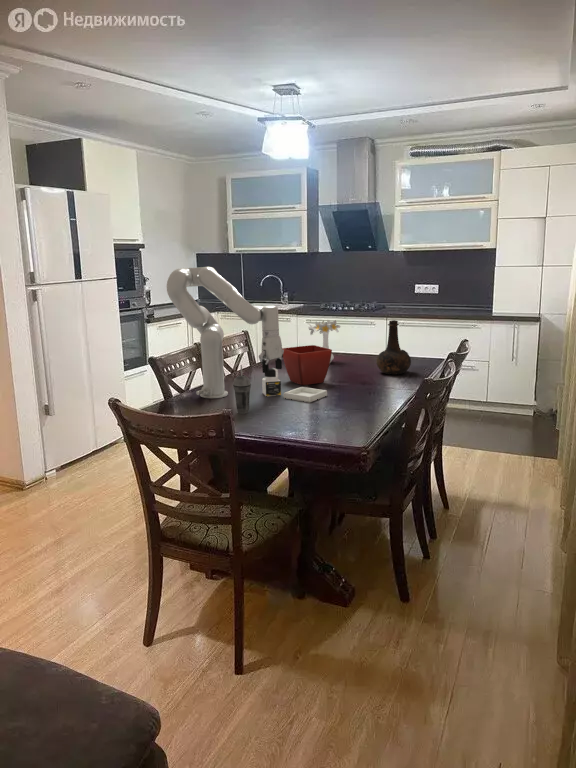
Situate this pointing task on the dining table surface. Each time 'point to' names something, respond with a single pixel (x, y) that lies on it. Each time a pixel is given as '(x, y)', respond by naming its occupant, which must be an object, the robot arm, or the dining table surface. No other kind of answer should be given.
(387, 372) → the glass bottle
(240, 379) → the beverage cup
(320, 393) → the tray
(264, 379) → the medicine bottle
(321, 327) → the flower vase
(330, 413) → the dining table surface
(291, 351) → the plant pot
